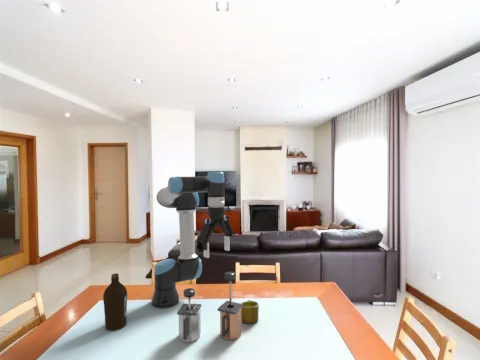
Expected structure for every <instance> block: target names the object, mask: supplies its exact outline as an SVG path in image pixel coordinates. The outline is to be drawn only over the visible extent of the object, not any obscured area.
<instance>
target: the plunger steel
mask: <svg viewBox="0 0 480 360" xmlns="http://www.w3.org/2000/svg"><path fill="white" fill-rule="evenodd" d="M195 295H196V289H195V288H193V287H192V288H191V287H190V288H186V289H184V290H183V297H184V298H187V299H188V303H187V304H188V310H191V304H192V303H191V298H193V297H195Z"/></svg>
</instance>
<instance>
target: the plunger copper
mask: <svg viewBox="0 0 480 360" xmlns="http://www.w3.org/2000/svg"><path fill="white" fill-rule="evenodd" d="M236 277H237V274H236V272H235V271H226V272H224V279H225V280H227V281H228V283H229V285H228V286H229V287H228V289H229V290H228V293H229V294H228V297H229V299H228V301H229V308H232V302H233V300H232V298H233V297H232V296H233V295H232V292H233V291H232V286H233V285H232V284H233V283H232V281H235V280H236Z"/></svg>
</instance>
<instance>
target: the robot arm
mask: <svg viewBox="0 0 480 360" xmlns="http://www.w3.org/2000/svg"><path fill="white" fill-rule="evenodd" d="M225 181H226V180H225V173H224V172H223V171H209V172H207V175H204V176H203V175H202V176H198V175H197V176H171V177H169V179H168V182H167V186H166V187H163V188H161V189H160V190H159V191H158V192H157V193H156V201H157V203H158V205H160V206H162V207H164V208H167V209H175V211H176V212H177V214H178V218H179V219H178V221H179V222H178V224H179V249H180V250H179V251H180V254H179V256H178V257H177V260H175V259H174V258H167V259H163V260H159V261H158V262H156V263H155V264H154V270H153V275H154V276H153V277H154V282H153V283H154V291H153V294H152V298H151V306H152V307H153V308H157V309H168V308H171V307H172V308H173V307H174V306H176V305H178V304H179V303H180V296H179V293H178V290H177V288H176V287H177V283H180V282H186V281H192V280H196V279H199V278H200V276H201V275H202V271H203V263H202V259H201V258H200V257H199V255H198V254H197V253H196V238H195V235H196V234H195V212H196V211H197V207H199V205H200V196H199V193H207V206H208V207H207V215H208V216H209V217H208V218H204V219H203V225H202V228H201V231H200V235H199V237H198V242H199V243H200V242H201V243H202V250H203V258H206V259H209V258H210V242H209V240H210V238H211V236H212V234H213V232H214V230H215V229H216V228H220V230H222V232H223V233H224V237H223V243H224V245H223V246H224V247H223V248H224V251H226V252H229V251H231V247H230V245H231V244H230V243H231V237H233V235H234V231H233V228H232V224H231V223H230V218H229V215H225V214H226V210H225V209H226V207H225V205H226V204H225V202H226V201H225V195H226V194H225V193H226V191H225Z"/></svg>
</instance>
